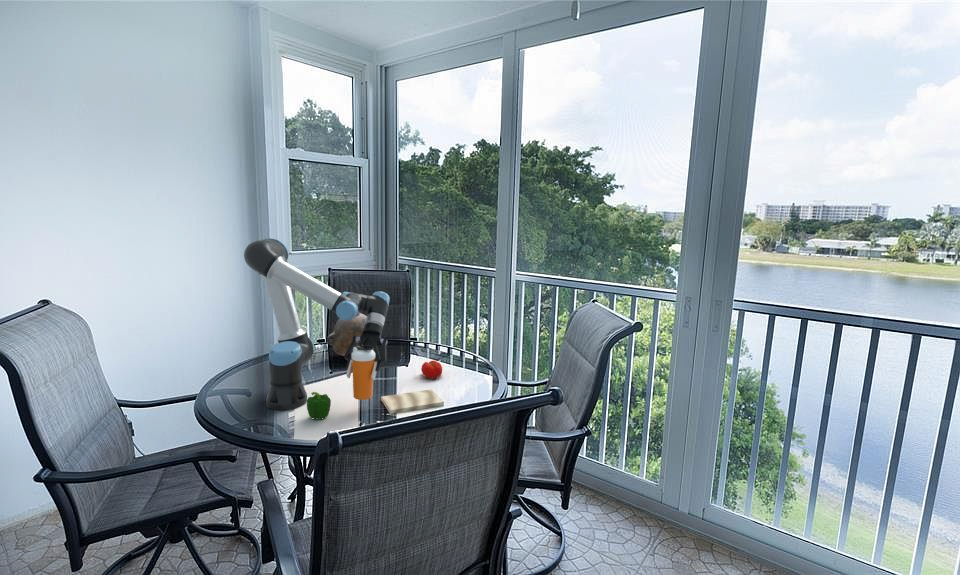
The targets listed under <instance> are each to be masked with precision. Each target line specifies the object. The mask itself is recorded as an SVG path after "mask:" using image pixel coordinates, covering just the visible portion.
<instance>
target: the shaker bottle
mask: <svg viewBox="0 0 960 575" xmlns="http://www.w3.org/2000/svg"><path fill="white" fill-rule="evenodd" d="M372 349H373V347H370V346H363V345H358V346H356V347H354V348H353V352H352V358H351V359H352V395H353V399H355V400H358V401H361V400H362V401H365V400H370V399H371V398H372V397H373V388H374V380H372V378H371V376H372V372H373V368H374V364H375V359H376V354H375V351H373V350H372Z"/></svg>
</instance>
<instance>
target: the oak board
mask: <svg viewBox="0 0 960 575" xmlns="http://www.w3.org/2000/svg"><path fill="white" fill-rule="evenodd" d="M380 400H381V402H382V403H383V405H384V406H385V409H386V410H387V411H388V413H389V414H390V415H392V414H397V413H398V412H399V413H405V412H410V411H417V409H418V410H424V409H430V408H435V407H436V408H437V407H442V406H444V404H445V402H444V400H443V399H442V398H441V397H440V396H439V395H438V394H437V393H436V391H434V390H433V389H426V390H425V389H424V390H418V391H411V392H405V393H397V394H390V395H389V394H388V395H383V396H380Z"/></svg>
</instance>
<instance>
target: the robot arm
mask: <svg viewBox="0 0 960 575" xmlns="http://www.w3.org/2000/svg"><path fill="white" fill-rule="evenodd" d="M289 256H290V255H289V249H288V247H287V245H286V244H285V243H284V242H283V241H281V240H279V239H276V238H272V237H271V238H265V239H260V240H259V239H257V240H254V241H251V242H250V243H249V244H248V245H247V246H246V248H245V250H244V252H243V258H244V262H245V263H246V265H247V266H248V267H249V268H250V269H251V270H253V271H255V272H256V273H258V275H259V276H260V277H261V278H263V279H264V282H265V285H266V289H267V292H268V293H267V294H268V295H269V299H270V302H271V306H272V309H273V313H274V318H275V321H276V323H277V327H278V330H279V336H278V337H277V342H278V343H276V344H273V345H272V346H271V347H270V348H269V351H268V353H269V354H268V362H269V364H268V365H269V367H268V368H269V382H270V383H269V384H270V385H269V389H268V392H267V396H266V399H265V405H266V407H267V408H269V409H271V410H275V411H287V410H292V409H297V408H299V407H301V406H304V405H305V404H307V400H308V394H307V391H306V389H305V386H304V383H303V373H302V372H303V371H302V368H303V367H304V366H305V365H306V364H307V363H308V362H309V361H310V360H311V358H312V357H313V355H314V352H315V344H314V342H313V340H312V338H311V337H309V336H308V332H307V330H305V329H304V328H303V327H302V325H301V321H300V317H299V314H298V310H297V306H296V302H295V299H294V296H293V295H294V294H293V292H292V290H294V291H296V292H298V293H300V294H301V295H303V296H305V297H307V298H308V299H311V300H312V301H314V302H316V303H317V304H320V305H321V306H323V307H325V308H326V309H329V310H330V311H331V312H334V313H335V314H336V316H337V318H339V319H341V320H345V321H347V320H351V319H352V318H354V317H355V316H356V315H357V314H358V312H359V313H361V314H366V316H367V318H366V321H365V325H364V328H363V332H362V335H361V336H360V337H356V336H353V340H352V342H351V344H350V346H349V348H348V350H347V352H346V353H345V355H344V356H343V357H344V359H345V361H347V362H346V366H345V367H346V369H347V371H346V374H345V375H346V377H347V379H350V378H351V377H352V376H351V375H352V373H353V371H352V359H351V358H352V352H353V348H354V347H355V346H356V344H357V343H358V341H359V340H361V342H360V344H359V345H363V346H370V347H374V352H375V359H376V361H375V362H374V368H373V372H372V376H371V378H372V380H373V381H375V380H376V377H377V373H378V372H380V370H381V366H382V364H386V363H387V346H388V342H389V341H388V340H387V338H382V334H383V329H384V325H385V321H386V318H387V313H388V310H389V307H390V306H389V304H390V298H391V297H390V295H389V294H388V293H386V292H384V291H382V290H381V291H375V292H374V293H372V295H366V294H362V293H357V292H352V291H350V292H349V291H343V292H340V291H338V290H336V289H334V288H333V287H331V286H329V285H327V284H326V283H323V282H322V281H320V280H319V279H317V278H315V277H313V276H312V275H309V274H308V273H306V272H305V271H303V270H301V269H300V268H297V267H296V266H294V265H292V264H290V263H289V262H288V260H289ZM380 343H381V345H382V346H381V354H382V355H381V356H380V352H379V348H378V345H379V344H380Z"/></svg>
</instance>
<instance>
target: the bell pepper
mask: <svg viewBox="0 0 960 575" xmlns="http://www.w3.org/2000/svg"><path fill="white" fill-rule="evenodd" d="M311 395H312V396H309V397H308V396H307V402H306V409H307V413H308V417H310V419H312V418H314V419H313V420H323V419H322V418H324V419H326V418H328V416H329V414H330V411H331V405H332V399H331V398H330V397H329V395H328V394H327V393H324V394H320V393H319V392H317V391H312V392H311ZM325 417H326V418H325ZM316 418H318V419H316Z"/></svg>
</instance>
